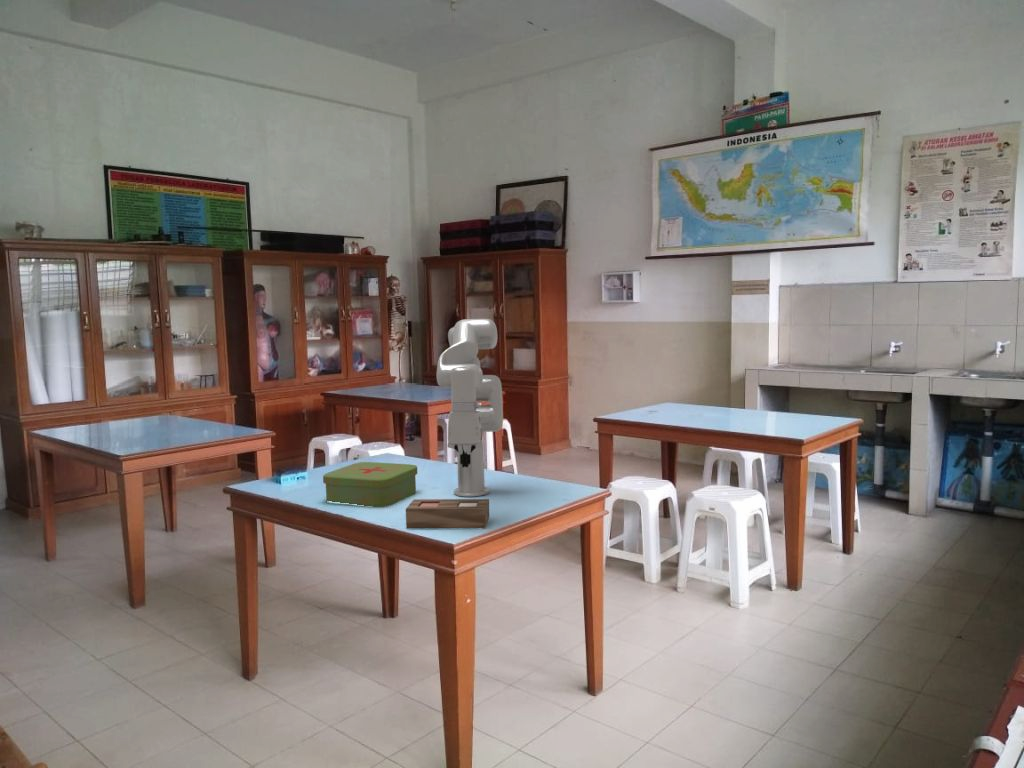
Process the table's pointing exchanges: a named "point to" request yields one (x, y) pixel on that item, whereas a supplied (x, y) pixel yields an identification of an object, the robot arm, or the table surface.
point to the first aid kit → (371, 483)
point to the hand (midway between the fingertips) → (465, 466)
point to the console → (448, 514)
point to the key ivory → (468, 504)
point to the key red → (429, 505)
